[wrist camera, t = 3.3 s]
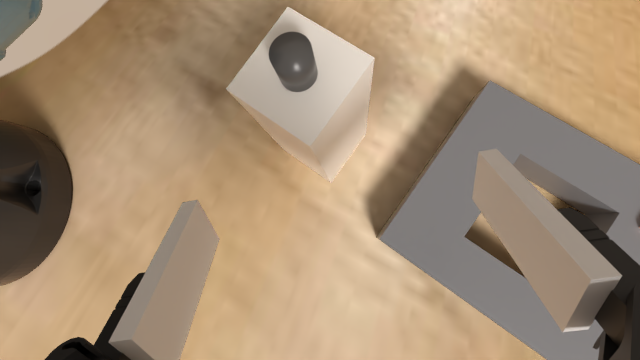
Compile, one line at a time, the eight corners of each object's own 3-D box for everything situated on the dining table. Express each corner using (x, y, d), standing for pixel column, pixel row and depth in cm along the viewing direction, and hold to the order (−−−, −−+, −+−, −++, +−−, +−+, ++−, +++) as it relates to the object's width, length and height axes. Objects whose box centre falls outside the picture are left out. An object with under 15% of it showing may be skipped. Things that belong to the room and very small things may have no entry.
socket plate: (376, 237, 24) (379, 239, 21) (474, 97, 25) (493, 76, 21) (566, 373, 21) (608, 403, 18) (670, 211, 22) (730, 208, 19)
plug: (284, 150, 26) (207, 70, 13) (318, 103, 26) (278, -24, 13) (331, 183, 25) (303, 134, 12) (365, 134, 26) (377, 33, 12)
